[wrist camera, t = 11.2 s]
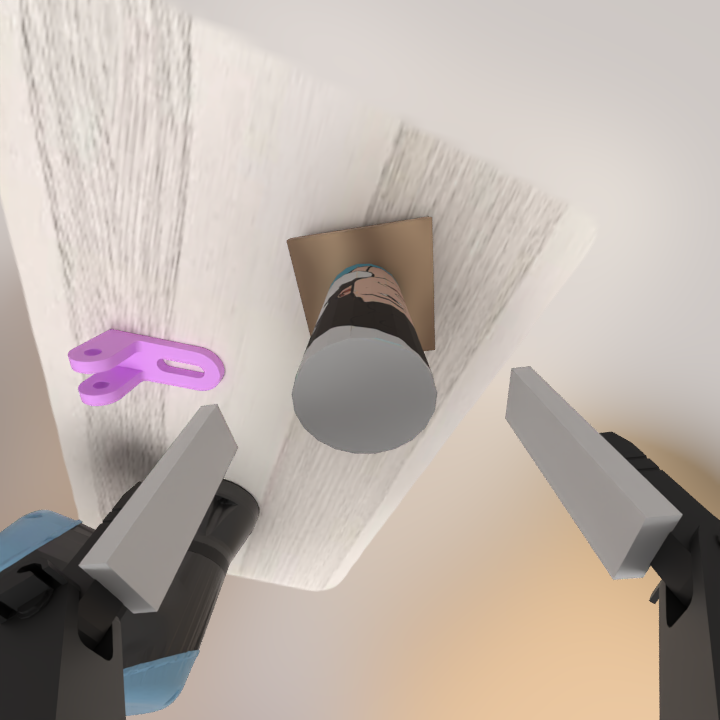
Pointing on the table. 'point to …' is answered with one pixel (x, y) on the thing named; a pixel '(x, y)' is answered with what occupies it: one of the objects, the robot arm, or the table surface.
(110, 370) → the bracket
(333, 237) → the stand
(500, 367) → the table surface
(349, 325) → the printed can
